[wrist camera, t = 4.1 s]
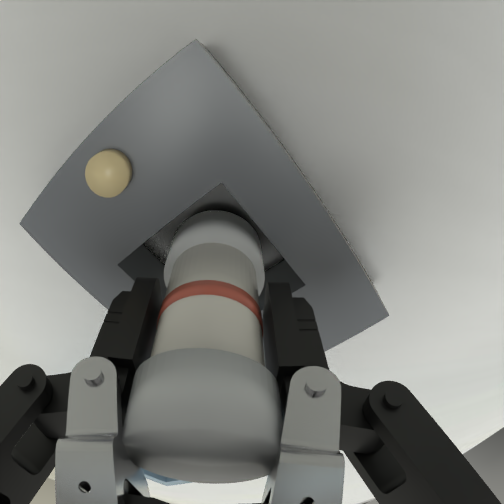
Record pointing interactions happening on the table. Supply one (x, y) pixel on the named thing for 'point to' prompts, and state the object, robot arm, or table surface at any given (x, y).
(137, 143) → the fuse block
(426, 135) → the table surface
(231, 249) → the cylinder
